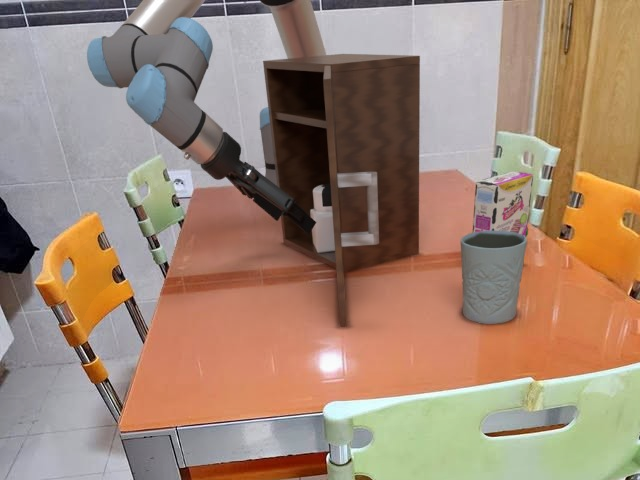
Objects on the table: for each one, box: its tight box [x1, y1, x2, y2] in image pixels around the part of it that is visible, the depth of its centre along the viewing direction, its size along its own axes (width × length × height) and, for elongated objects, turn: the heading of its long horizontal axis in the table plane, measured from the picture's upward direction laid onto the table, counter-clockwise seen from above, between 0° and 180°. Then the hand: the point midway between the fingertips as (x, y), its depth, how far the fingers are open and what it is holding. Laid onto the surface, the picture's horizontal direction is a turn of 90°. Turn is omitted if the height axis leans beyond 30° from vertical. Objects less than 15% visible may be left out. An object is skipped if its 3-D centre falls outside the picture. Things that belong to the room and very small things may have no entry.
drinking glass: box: [460, 231, 528, 325], centre depth 103 cm, size 10×10×12 cm
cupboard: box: [262, 53, 421, 273], centre depth 129 cm, size 18×26×34 cm
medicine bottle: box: [310, 184, 335, 253], centre depth 133 cm, size 7×7×12 cm
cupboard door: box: [323, 66, 379, 327], centre depth 105 cm, size 7×26×34 cm, turn 2°
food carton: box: [472, 171, 534, 238], centre depth 118 cm, size 11×5×16 cm, turn 135°
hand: (295, 221), depth 130 cm, fingers open, 13 cm apart
